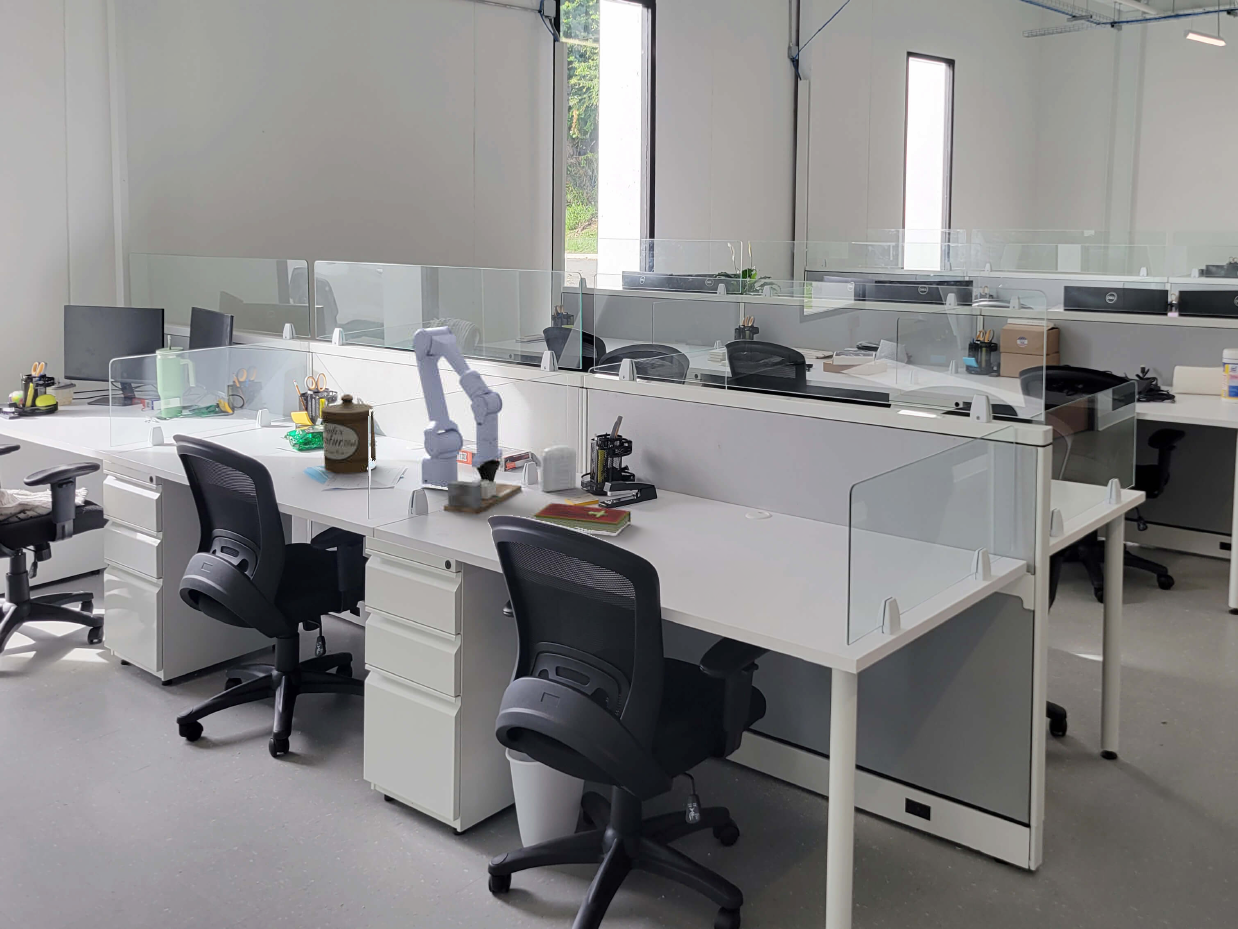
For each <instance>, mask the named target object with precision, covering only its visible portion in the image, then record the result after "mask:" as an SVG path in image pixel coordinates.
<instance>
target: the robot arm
mask: <svg viewBox="0 0 1238 929" xmlns="http://www.w3.org/2000/svg"><path fill="white" fill-rule="evenodd" d="M412 345H413V350H414V355H415V361H416V366H417V370H418V371H417V372H418V375H419V379H420V385H421V388H422V389H421V390H422V393H423V396H424V397H423V398H424V402H425V407H426V410H427V411H426V412H427V415H428V419H429V420H428V421H429V424H428V425H427V426H426V428H425V429H424V430H423V435H424V440H423V442H424V444H423V447H424V450H425V452H426V453H427V454H425V455H424V456H423V458H422V460H421V461H422V462H421V485H422V484H431V485H435V486H441V487H447V488H448V483H449V482H451V481H453V480H455V481H459V478H458V475H459V474H458V469H459V468H458V456H459V455H460V451H461V450H462V449H463V447H464V438H463V434H462V433H461V432H460V429H459V426H458V424H457V422H455V421H453V420H452V419H451V418H450V415H449V412H448V407H447V406H448V405H447V402H446V398H445V397H446V396H445V393H444V388H443V383H442V378H441V375H440V370H439V366H438V363H439V361H440V359H441V358H442V357H443V358H444V359H445V360H446V362H447V363H448V364H449V365H450V366H451V368H452V369H453V371H454V372H455V373H456V374H457V375H458V376H459V380H458V383H459V385H460V387H461V388H462V390H463V392H465V394H466V396H467V397H468V398H469V400H470V401H471V403H470V408H471V412H472V414H473V416H474V418H473V419H474V421H475V428H476V430H475V431H476V432H475V434H476V436H475V437H476V438H475V441H476V453H475V456H474V457H473V459H472V460H471V467H472V468H475V469H476V470H477V473H478V474H479V477H480V479H486V480H489V481H493V482H495V477H496V474H497V471H498V470H499V467H500V466H501V461H500V459H502V458H503V449H502V448H499V415H498V414H499V413H500V412H501V411H502V409H503V399H502V398H501V395H500V394H499V393H498V392H497V391H493V389H490V388H489V386H488V385H487V384H486V382H485V381H484V379H483V378H482V376H481V374H480V372H478V371H476V370H472V369H471V368H470V366H469V364H468V363H467V361H466V359H465V357H464V356H463V354H462V352H461V350H460V349H459V348H458V347H459V346H457V336H456V335H455V334H454V332H453V330H452V329H451V328H450V327H449V326H447V325H446V326H441V327H440V326H439V327H429V328H419V329H417V330H416V331H415V333H414V335H413V338H412ZM497 459H498V460H497Z"/></svg>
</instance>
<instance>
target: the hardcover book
mask: <svg viewBox="0 0 1238 929" xmlns="http://www.w3.org/2000/svg"><path fill="white" fill-rule="evenodd" d="M533 517H535V521H536V520H540V521H545V522H550V523H554V524H557V525H562V526H566V527H570V528H574V529H578V528H575V527H579V528H583V529H587V530H595V531H606V532H610V533H616V532H617V531H619V529H621V528H622V527H624V526H625V525H626V524H627V523H628V522H630V523H631V518H632V514H631V510H626V509H617V508H616V509H614V508H605V507H597V506H595V507H594V506H585V505H577V504H576V505H575V504H566V503H557V502H555V503H554V502H550V503H549V504H546V506H545V507H543V508H541V509H540V510H538V511H537V512H536V513H535V514H534V515H533ZM580 530H581V529H580ZM583 531H584V530H583Z"/></svg>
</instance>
